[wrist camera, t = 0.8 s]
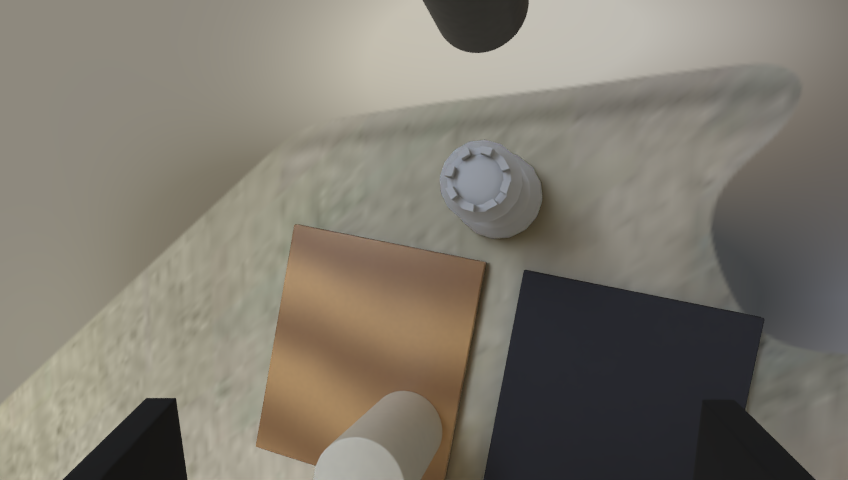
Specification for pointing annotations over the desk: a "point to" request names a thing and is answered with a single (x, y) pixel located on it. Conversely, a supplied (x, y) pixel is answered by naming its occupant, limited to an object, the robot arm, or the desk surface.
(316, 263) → the brown square board
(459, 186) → the rook chess piece
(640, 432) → the dark mat
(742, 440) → the robot arm
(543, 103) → the desk surface
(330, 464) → the ivory piece
